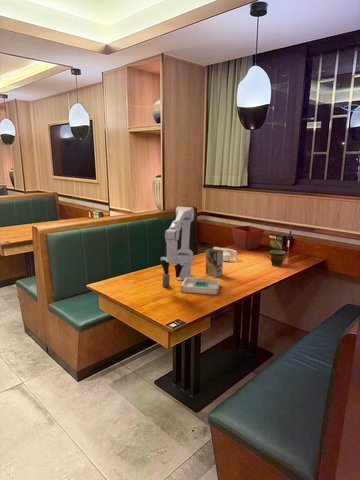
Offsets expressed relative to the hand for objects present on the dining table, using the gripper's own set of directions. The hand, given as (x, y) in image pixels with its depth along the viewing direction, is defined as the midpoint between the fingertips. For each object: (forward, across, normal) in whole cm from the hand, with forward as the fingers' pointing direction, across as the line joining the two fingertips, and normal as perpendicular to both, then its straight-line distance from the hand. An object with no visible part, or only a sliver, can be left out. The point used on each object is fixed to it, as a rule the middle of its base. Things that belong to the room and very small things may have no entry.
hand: (172, 275), depth 184 cm
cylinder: (+10, -9, +5) cm, 14 cm away
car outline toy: (+11, -10, +73) cm, 74 cm away
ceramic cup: (+10, +26, +81) cm, 86 cm away
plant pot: (+11, -11, +112) cm, 113 cm away
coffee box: (+10, +2, +40) cm, 41 cm away
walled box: (+10, +9, +15) cm, 20 cm away
